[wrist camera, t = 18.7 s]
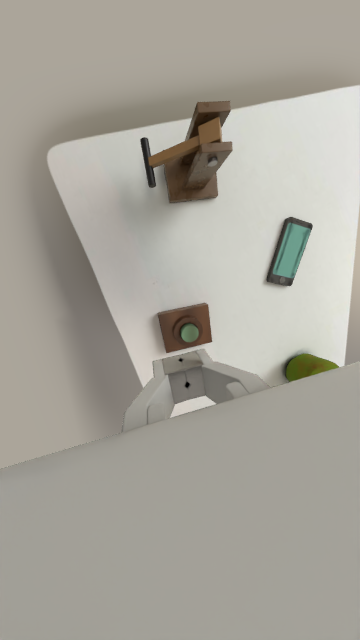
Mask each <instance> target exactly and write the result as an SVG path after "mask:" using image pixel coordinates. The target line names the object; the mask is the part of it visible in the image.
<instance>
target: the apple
mask: <svg viewBox="0 0 360 640" xmlns="http://www.w3.org/2000/svg"><path fill="white" fill-rule="evenodd" d="M336 368H339V366H337V365H336V364H335V363H333V362H331V361H329V360H325V359H322V358H319V357H316V356H313V355H311V354H301V355H299V356H297V357H295V358H294V359H292V360H291V361H290V362H289V363H288V366H287V369H286V377H287V379H288V381H289V382H292V381H296V380H299V379H302V378H306V377H309V376H312V375H316V374H319V373H322V372H326V371H329V370H332V369H336Z"/></svg>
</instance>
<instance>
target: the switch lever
mask: <svg viewBox="0 0 360 640" xmlns="http://www.w3.org/2000/svg"><path fill="white" fill-rule="evenodd" d="M198 131H199V135H198V136H196V137H193V138H191V139H189V140H187V141H184V142H182V143H180V144H178V145H175V146H173V147H171V148H169V149H166V150H164V151H162V152H160V153H157V154H155V155H153V156H151V154H150V148H149V142H148V139H147V138H142V139H141V140H140V141H141V147H142V152H143V157H144V163H145V168H146V174H147V179H148V185H149V187H150V188H153V187H155V186H156V183H155V177H154V171H153V168H155V167H157V166H160V165H162V164H165V163H167V162H170V161H172V160H175V159H177V158H179V157H182V156H184V155H187V154H189V153H192V152H194V151H196V150H199V147H200V145H201V144H204V143H218V142H222V132H221V124H220V119H219V117H217V118H215V119H213V120H211V121H209V122H206V123H204V124H202V125H200V126H198Z"/></svg>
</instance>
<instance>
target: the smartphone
mask: <svg viewBox="0 0 360 640" xmlns="http://www.w3.org/2000/svg"><path fill="white" fill-rule="evenodd" d="M312 227H313V225H312V224H311V223H308V222H305V221H302V220H299V219H296V218H293V217H289V218H287V219H286V220H285V223H284V226H283V229H282V232H281V236H280V239H279V242H278V245H277V248H276V251H275V254H274V258H273V261H272V264H271V267H270V270H269V273H268V277H267V282H271V283H276V284H281V285H285V286H291V285H292V283H293V280H294V277H295V274H296V272H297V269H298V266H299V263H300V260H301V258H302V255H303V252H304V249H305V247H306V244H307V241H308V238H309V235H310V233H311V230H312Z"/></svg>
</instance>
